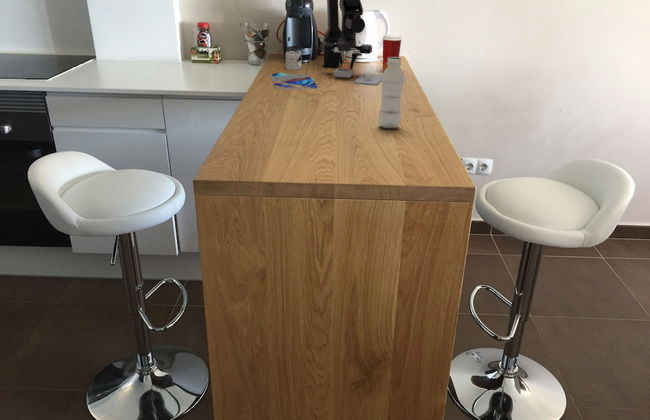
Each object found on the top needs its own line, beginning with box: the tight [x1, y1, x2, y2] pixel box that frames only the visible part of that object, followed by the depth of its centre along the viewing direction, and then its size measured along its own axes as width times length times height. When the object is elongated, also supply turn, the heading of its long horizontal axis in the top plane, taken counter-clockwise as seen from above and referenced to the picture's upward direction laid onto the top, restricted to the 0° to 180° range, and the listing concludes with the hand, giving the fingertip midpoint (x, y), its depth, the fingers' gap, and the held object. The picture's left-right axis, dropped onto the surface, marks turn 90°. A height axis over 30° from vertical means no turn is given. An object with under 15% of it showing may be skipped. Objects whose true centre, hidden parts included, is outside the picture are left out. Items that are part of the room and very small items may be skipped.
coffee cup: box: [381, 33, 403, 73], centre depth 240 cm, size 8×8×15 cm
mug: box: [285, 50, 302, 71], centre depth 244 cm, size 10×7×7 cm
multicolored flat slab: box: [269, 72, 318, 90], centre depth 221 cm, size 25×15×2 cm, turn 10°
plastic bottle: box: [377, 57, 406, 129], centre depth 164 cm, size 6×7×20 cm
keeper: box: [353, 66, 382, 87], centre depth 226 cm, size 9×18×6 cm, turn 164°
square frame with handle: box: [333, 59, 355, 78], centre depth 231 cm, size 14×6×4 cm, turn 164°
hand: (346, 69), depth 232 cm, fingers closed on square frame with handle, 3 cm apart
